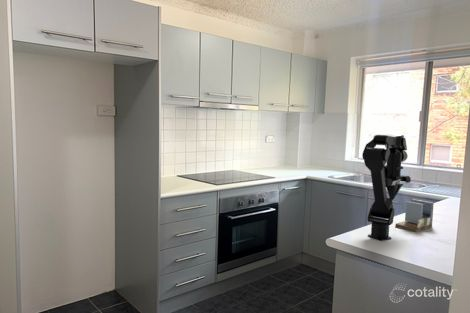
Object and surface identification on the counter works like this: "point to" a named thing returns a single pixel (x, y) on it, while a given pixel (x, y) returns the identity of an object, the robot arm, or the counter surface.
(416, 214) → the pale blue shelf board
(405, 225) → the gauge frame
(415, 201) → the brushed steel plate
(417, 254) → the counter surface
